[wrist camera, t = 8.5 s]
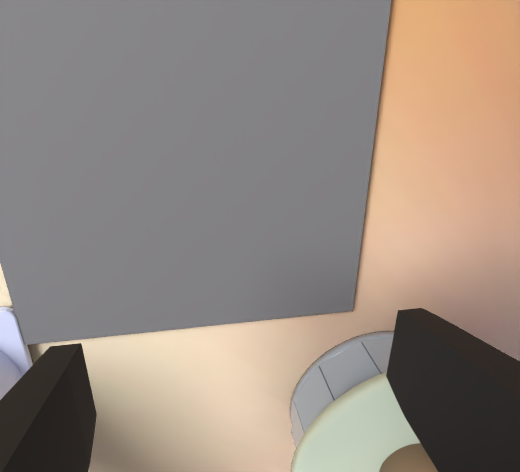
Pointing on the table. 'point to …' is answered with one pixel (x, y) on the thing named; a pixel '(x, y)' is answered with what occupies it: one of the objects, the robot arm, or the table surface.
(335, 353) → the bowl
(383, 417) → the lid
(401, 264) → the table surface
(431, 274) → the table surface
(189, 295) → the mat
